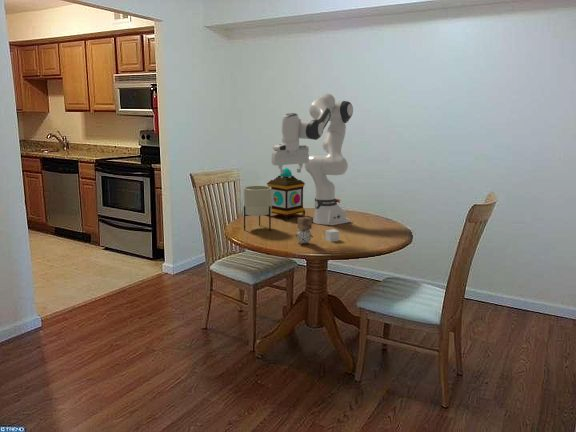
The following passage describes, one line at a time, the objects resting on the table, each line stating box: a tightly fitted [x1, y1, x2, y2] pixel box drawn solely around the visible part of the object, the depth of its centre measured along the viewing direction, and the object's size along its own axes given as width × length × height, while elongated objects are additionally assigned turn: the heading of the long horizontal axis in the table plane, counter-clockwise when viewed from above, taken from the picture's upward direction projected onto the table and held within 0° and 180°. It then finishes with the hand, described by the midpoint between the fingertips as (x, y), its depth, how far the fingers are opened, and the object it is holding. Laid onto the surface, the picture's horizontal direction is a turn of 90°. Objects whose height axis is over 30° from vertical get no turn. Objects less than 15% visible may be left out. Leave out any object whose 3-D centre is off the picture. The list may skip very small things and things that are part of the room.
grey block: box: [324, 228, 340, 243], centre depth 235 cm, size 5×5×5 cm
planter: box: [243, 185, 273, 232], centre depth 255 cm, size 15×16×23 cm
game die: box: [294, 228, 314, 245], centre depth 228 cm, size 9×8×10 cm
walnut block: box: [297, 216, 313, 230], centre depth 226 cm, size 5×5×5 cm
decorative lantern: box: [266, 167, 306, 221], centre depth 286 cm, size 20×20×30 cm
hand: (290, 173), depth 240 cm, fingers open, 8 cm apart
